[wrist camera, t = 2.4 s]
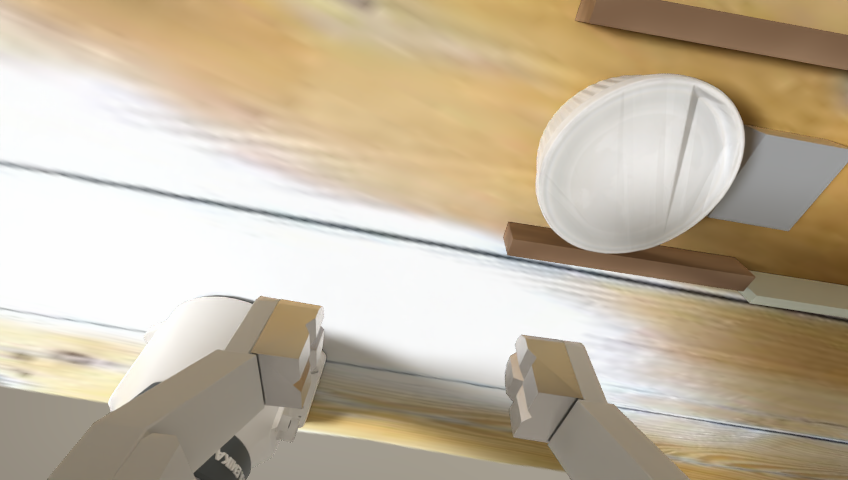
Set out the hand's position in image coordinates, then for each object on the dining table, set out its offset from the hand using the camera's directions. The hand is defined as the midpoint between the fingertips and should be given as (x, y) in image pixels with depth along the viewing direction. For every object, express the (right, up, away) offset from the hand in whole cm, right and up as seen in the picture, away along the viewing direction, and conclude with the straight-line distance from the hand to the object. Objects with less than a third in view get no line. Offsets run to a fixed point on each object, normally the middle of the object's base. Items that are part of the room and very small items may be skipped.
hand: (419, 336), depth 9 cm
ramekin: (+13, +9, +17) cm, 23 cm away
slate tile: (+24, +7, +17) cm, 30 cm away
